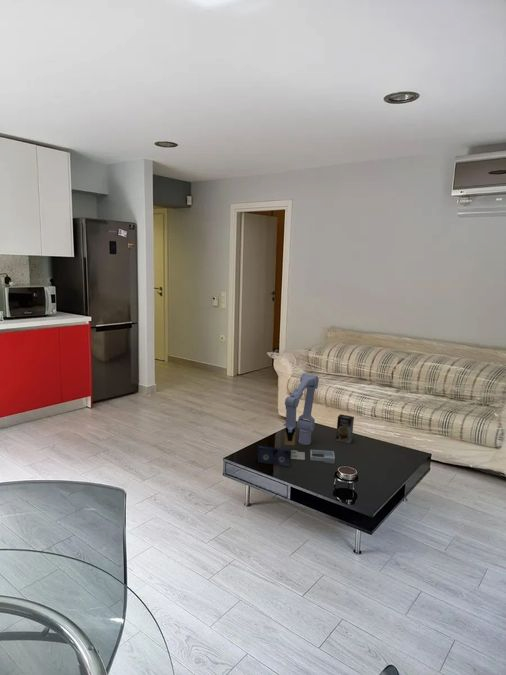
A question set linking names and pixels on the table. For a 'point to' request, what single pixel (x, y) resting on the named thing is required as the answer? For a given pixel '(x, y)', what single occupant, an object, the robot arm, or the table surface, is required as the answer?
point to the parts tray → (327, 457)
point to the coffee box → (344, 428)
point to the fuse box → (297, 455)
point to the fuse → (289, 441)
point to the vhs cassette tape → (274, 456)
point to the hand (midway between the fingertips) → (289, 439)
